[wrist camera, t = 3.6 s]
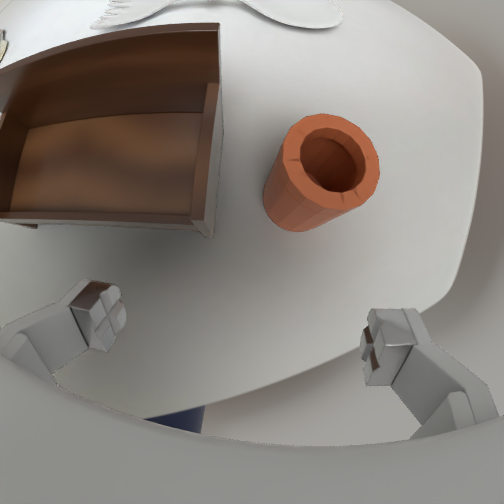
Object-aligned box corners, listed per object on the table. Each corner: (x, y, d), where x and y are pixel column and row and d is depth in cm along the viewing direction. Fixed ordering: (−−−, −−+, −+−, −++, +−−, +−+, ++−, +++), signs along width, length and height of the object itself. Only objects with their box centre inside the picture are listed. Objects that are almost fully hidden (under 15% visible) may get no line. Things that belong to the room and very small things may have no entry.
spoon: (115, 5, 25) (110, -10, 22) (333, 7, 27) (340, -8, 24) (94, 42, 24) (86, 26, 21) (342, 44, 27) (350, 27, 23)
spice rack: (213, 237, 24) (191, 198, 10) (32, 228, 23) (-66, 205, 9) (223, 132, 25) (220, 22, 11) (49, 140, 23) (-26, 82, 10)
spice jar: (327, 234, 25) (381, 214, 15) (261, 229, 25) (281, 203, 15) (327, 171, 25) (375, 124, 15) (264, 164, 25) (283, 107, 15)
